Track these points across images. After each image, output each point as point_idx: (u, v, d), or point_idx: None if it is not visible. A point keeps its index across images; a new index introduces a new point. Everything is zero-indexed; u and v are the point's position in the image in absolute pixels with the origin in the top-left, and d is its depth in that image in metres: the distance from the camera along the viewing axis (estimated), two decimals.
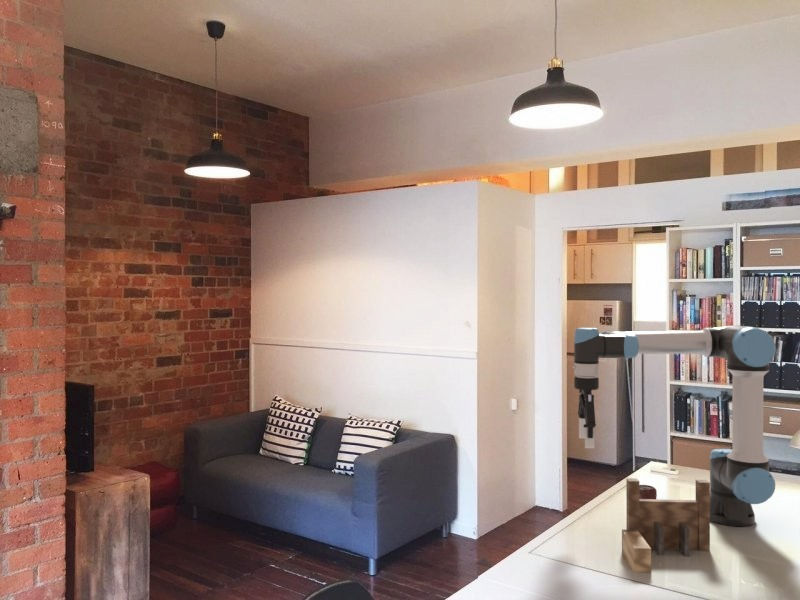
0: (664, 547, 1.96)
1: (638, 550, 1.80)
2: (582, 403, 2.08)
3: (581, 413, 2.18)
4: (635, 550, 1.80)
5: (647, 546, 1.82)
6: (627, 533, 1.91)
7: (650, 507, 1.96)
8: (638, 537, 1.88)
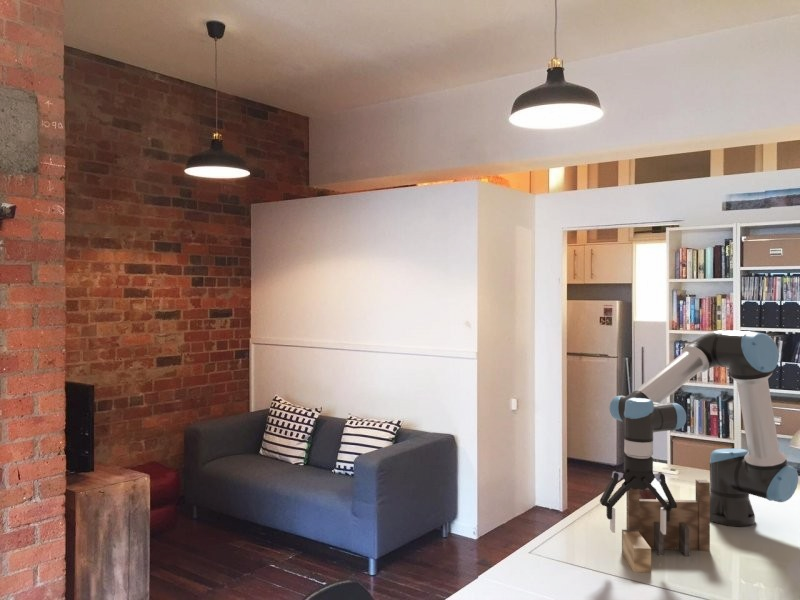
0: (664, 547, 1.96)
1: (638, 550, 1.80)
2: None
3: (659, 501, 1.84)
4: (635, 550, 1.80)
5: (647, 546, 1.82)
6: (627, 533, 1.91)
7: (650, 507, 1.96)
8: (638, 537, 1.88)
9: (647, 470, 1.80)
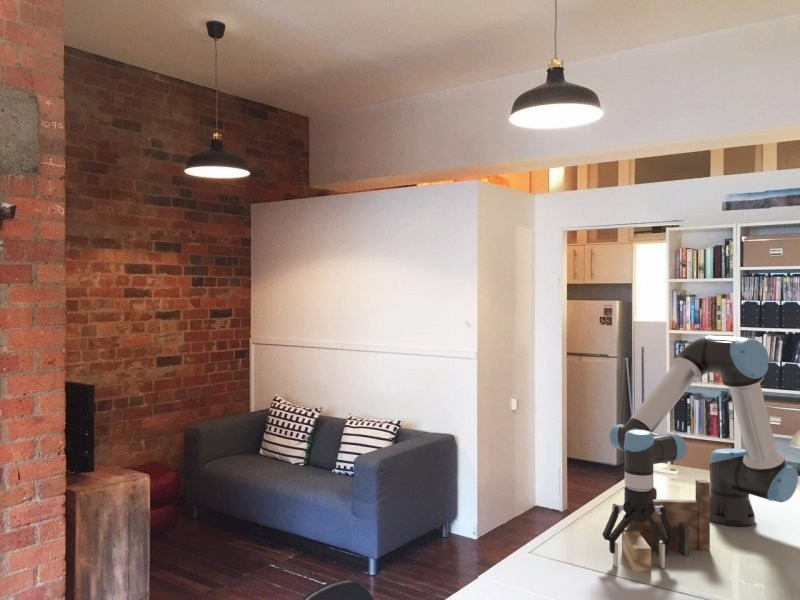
0: None
1: (638, 550, 1.80)
2: None
3: None
4: (635, 550, 1.80)
5: (647, 546, 1.82)
6: (627, 533, 1.91)
7: None
8: (638, 537, 1.88)
9: (647, 503, 1.81)
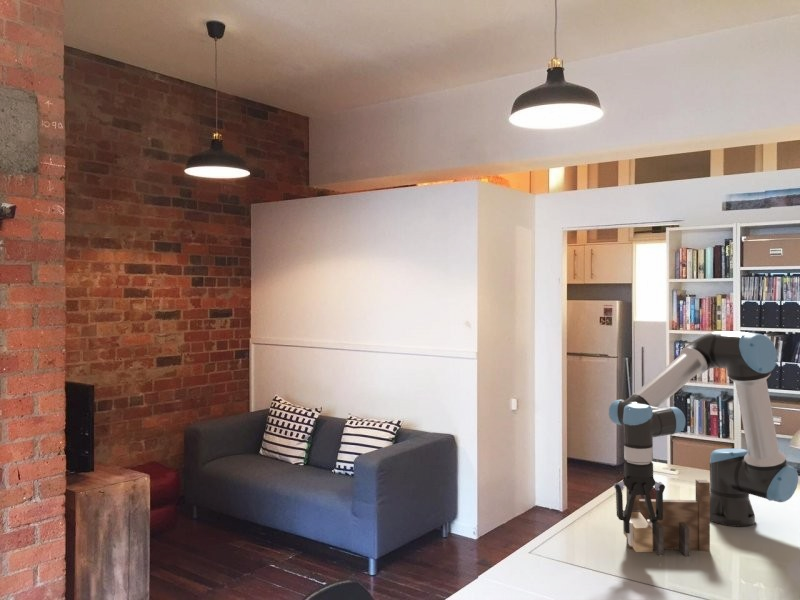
0: (664, 547, 1.96)
1: (639, 530, 1.80)
2: None
3: (648, 511, 1.85)
4: (636, 530, 1.81)
5: (648, 526, 1.82)
6: None
7: None
8: (639, 517, 1.88)
9: (647, 476, 1.81)
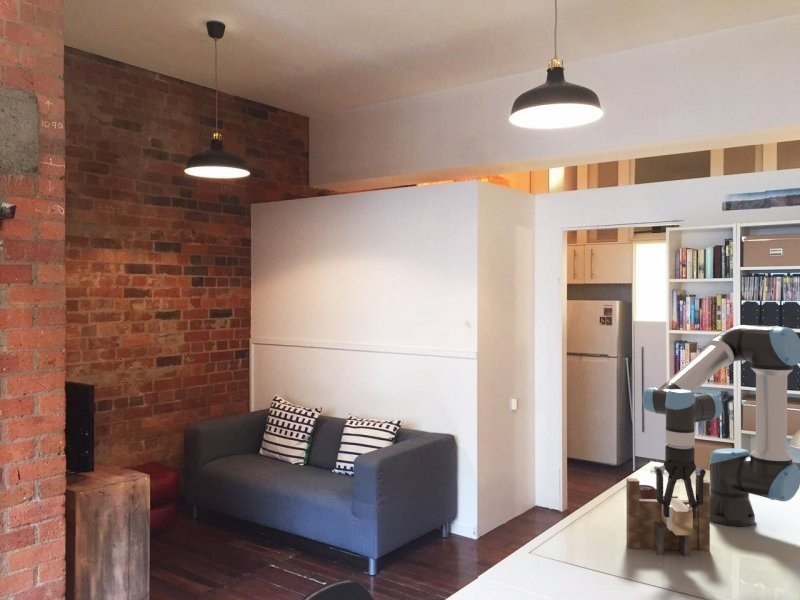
0: (664, 547, 1.96)
1: (680, 513, 1.82)
2: None
3: (687, 496, 1.86)
4: (677, 513, 1.82)
5: (688, 510, 1.83)
6: None
7: (650, 507, 1.96)
8: (678, 502, 1.90)
9: (689, 460, 1.82)
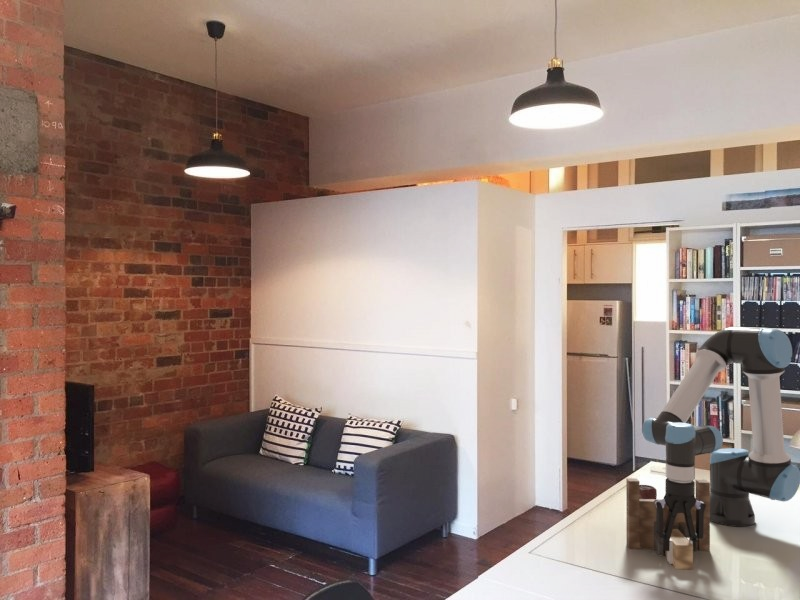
0: None
1: (680, 547, 1.82)
2: None
3: (688, 529, 1.87)
4: (677, 547, 1.82)
5: (689, 543, 1.83)
6: None
7: (650, 507, 1.96)
8: (678, 534, 1.90)
9: (689, 494, 1.82)
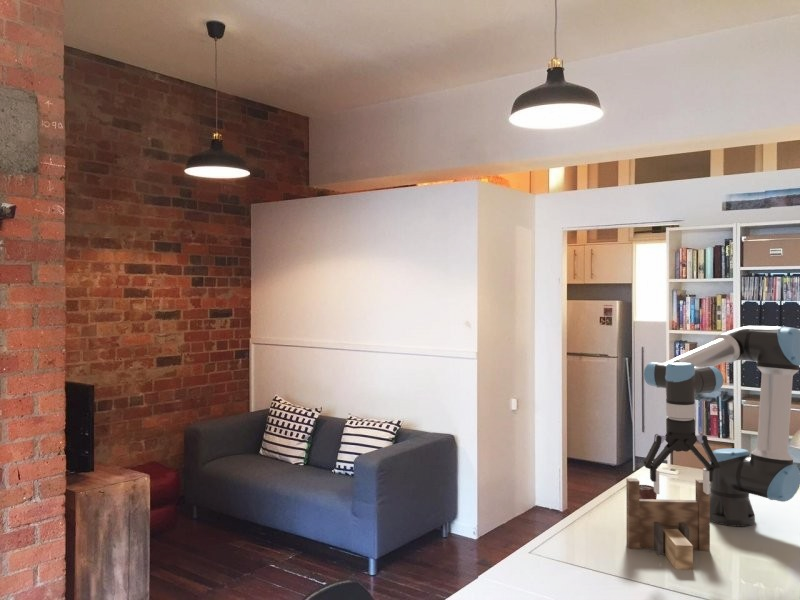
0: None
1: (680, 547, 1.82)
2: None
3: (702, 462, 1.88)
4: (677, 547, 1.82)
5: (688, 543, 1.83)
6: (666, 531, 1.93)
7: (650, 507, 1.96)
8: (678, 534, 1.90)
9: (690, 432, 1.84)
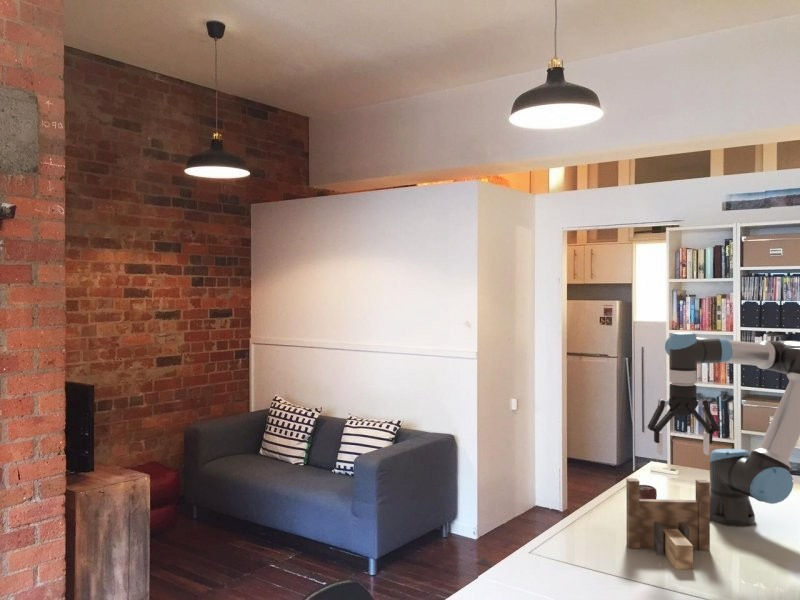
0: None
1: (680, 547, 1.82)
2: (669, 409, 2.03)
3: None
4: (677, 547, 1.82)
5: (688, 543, 1.83)
6: (666, 531, 1.93)
7: (650, 507, 1.96)
8: (678, 534, 1.90)
9: (692, 396, 1.98)
